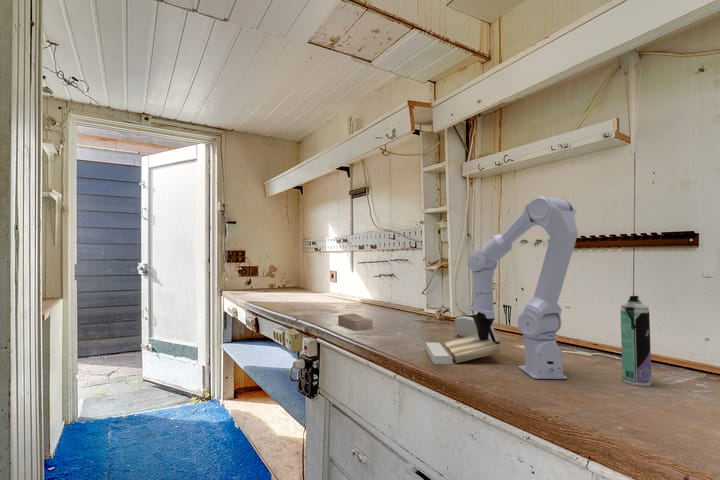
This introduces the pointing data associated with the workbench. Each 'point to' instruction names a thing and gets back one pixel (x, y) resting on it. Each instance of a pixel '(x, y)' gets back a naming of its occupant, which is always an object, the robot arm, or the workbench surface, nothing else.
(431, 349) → the board
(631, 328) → the spray can
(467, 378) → the workbench surface
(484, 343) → the brass metal plate
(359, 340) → the workbench surface
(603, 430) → the workbench surface
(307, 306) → the workbench surface
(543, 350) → the robot arm
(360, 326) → the brick
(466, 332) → the grey curved block
